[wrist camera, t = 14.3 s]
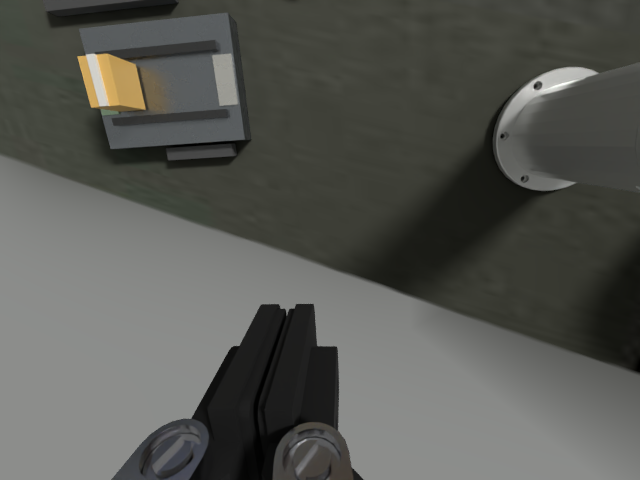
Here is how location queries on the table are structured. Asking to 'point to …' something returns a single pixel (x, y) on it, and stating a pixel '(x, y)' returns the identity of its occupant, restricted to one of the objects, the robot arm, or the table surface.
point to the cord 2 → (201, 151)
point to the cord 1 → (97, 5)
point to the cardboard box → (111, 83)
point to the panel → (177, 81)
